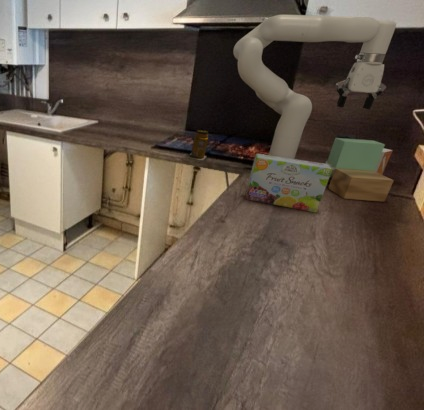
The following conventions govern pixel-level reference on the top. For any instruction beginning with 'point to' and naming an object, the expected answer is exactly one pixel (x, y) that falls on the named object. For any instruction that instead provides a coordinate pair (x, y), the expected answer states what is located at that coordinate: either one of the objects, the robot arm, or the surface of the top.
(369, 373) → the top surface
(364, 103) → the robot arm
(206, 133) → the condiment
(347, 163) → the block
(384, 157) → the small box
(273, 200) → the snack box
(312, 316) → the top surface
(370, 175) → the stand
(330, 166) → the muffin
